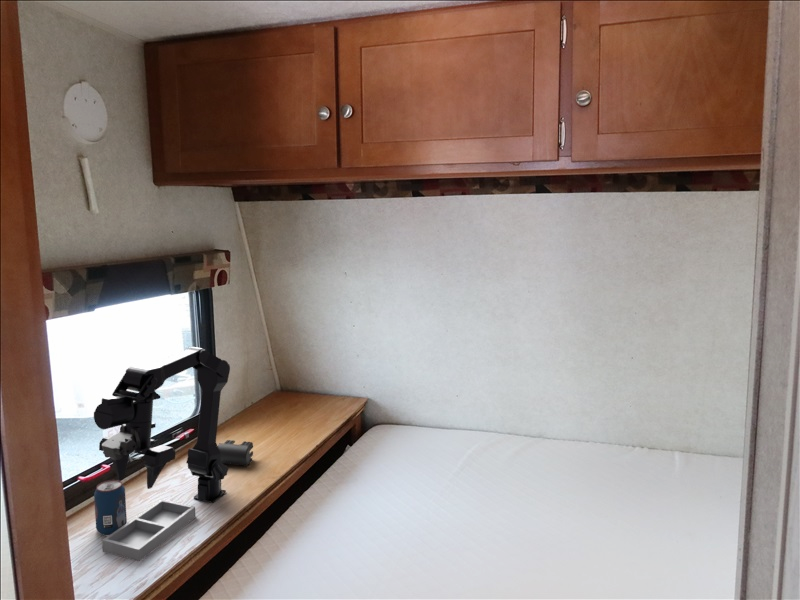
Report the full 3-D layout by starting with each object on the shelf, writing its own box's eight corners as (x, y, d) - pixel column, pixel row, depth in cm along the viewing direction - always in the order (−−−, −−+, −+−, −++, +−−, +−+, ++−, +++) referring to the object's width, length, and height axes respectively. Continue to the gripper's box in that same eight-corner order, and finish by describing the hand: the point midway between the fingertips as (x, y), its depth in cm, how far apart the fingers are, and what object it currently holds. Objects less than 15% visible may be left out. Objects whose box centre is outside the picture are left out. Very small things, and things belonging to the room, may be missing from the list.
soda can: (100, 523, 150) (97, 479, 148) (129, 520, 151) (127, 477, 149) (92, 538, 143) (90, 493, 141) (123, 535, 144) (121, 490, 142)
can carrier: (162, 509, 157) (161, 499, 156) (195, 517, 154) (195, 506, 153) (102, 551, 138) (102, 540, 137) (139, 561, 135) (138, 549, 134)
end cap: (215, 467, 182) (214, 447, 181) (224, 457, 189) (224, 438, 188) (246, 470, 181) (245, 449, 180) (254, 460, 188) (254, 440, 187)
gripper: (80, 420, 134) (77, 486, 135) (141, 435, 127) (137, 504, 128) (120, 410, 145) (117, 472, 145) (178, 424, 138) (174, 488, 138)
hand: (135, 484), depth 139 cm, fingers open, 9 cm apart
